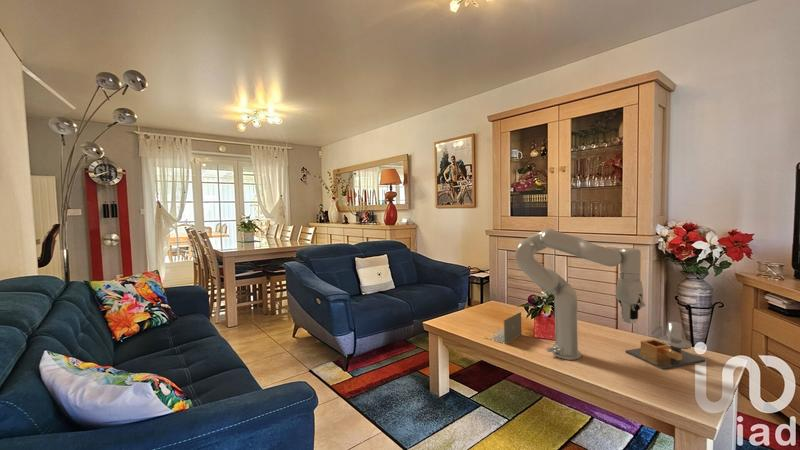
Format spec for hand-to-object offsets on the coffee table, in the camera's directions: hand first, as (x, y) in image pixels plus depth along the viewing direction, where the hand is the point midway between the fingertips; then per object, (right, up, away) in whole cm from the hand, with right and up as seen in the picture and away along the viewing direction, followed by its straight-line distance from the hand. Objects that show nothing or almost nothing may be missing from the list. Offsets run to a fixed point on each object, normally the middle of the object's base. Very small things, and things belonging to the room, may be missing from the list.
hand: (629, 316), depth 154 cm
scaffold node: (+20, -20, +5) cm, 28 cm away
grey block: (0, -2, 0) cm, 2 cm away
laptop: (-45, -21, +37) cm, 62 cm away
